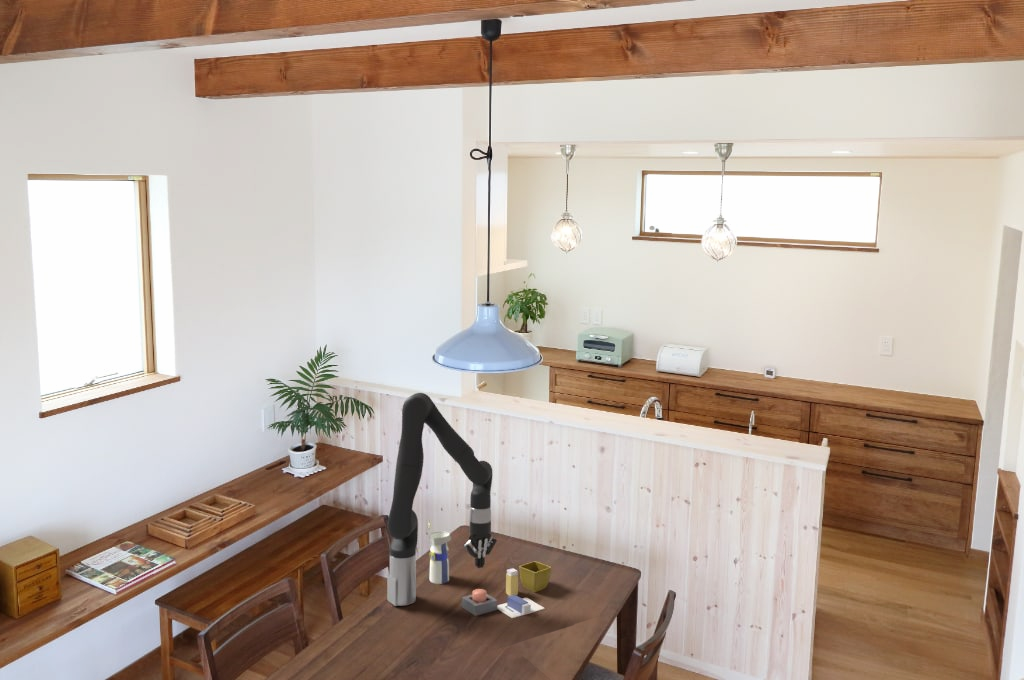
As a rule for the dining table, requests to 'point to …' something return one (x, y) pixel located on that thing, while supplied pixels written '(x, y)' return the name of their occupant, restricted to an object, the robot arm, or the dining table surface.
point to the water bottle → (439, 556)
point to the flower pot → (534, 575)
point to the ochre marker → (512, 582)
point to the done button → (479, 595)
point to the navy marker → (518, 604)
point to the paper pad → (514, 613)
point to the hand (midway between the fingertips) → (479, 567)
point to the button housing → (479, 605)
